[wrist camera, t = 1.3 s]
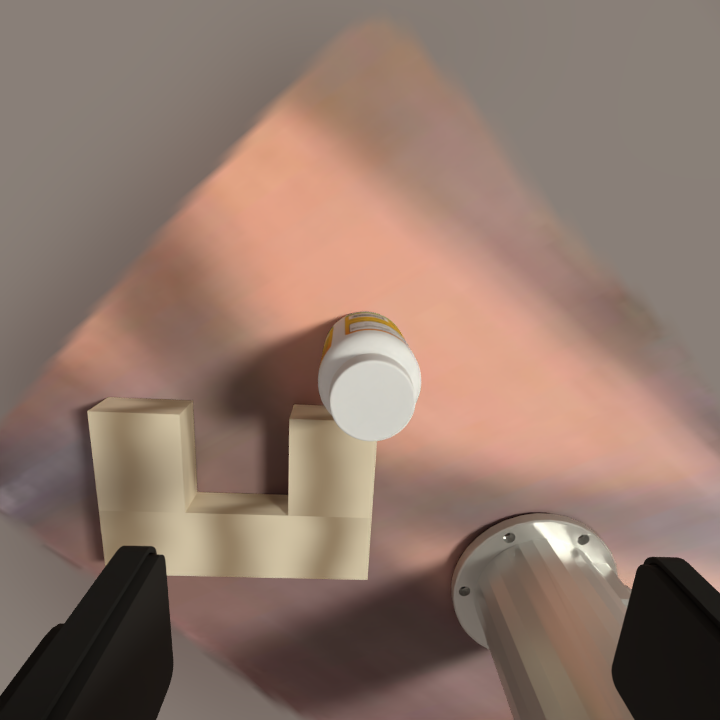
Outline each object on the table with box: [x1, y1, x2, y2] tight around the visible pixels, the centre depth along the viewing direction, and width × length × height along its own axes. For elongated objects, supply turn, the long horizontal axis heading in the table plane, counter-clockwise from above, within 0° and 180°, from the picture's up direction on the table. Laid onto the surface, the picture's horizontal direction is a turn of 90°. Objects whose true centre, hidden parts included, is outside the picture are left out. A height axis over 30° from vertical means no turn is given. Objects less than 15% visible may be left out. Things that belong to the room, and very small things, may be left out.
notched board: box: [87, 397, 377, 580], centre depth 31 cm, size 18×12×2 cm, turn 87°
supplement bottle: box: [318, 311, 421, 441], centre depth 25 cm, size 5×5×10 cm
